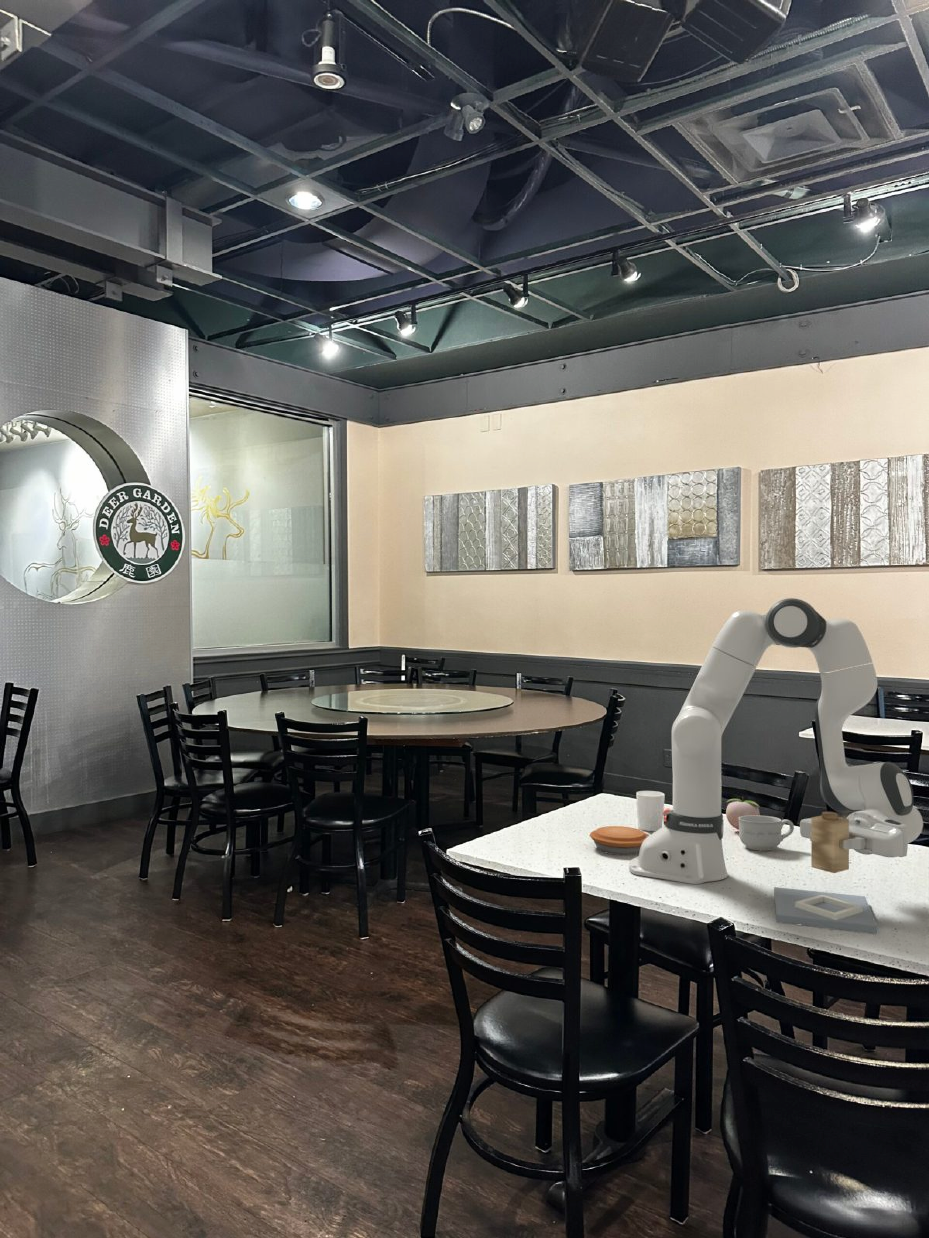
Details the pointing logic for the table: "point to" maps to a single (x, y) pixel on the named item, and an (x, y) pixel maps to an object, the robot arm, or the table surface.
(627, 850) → the pie
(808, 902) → the socket frame
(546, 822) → the table surface
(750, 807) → the decorative fruit
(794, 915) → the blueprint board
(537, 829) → the table surface
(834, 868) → the oak pillar
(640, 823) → the white cup
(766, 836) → the teacup
